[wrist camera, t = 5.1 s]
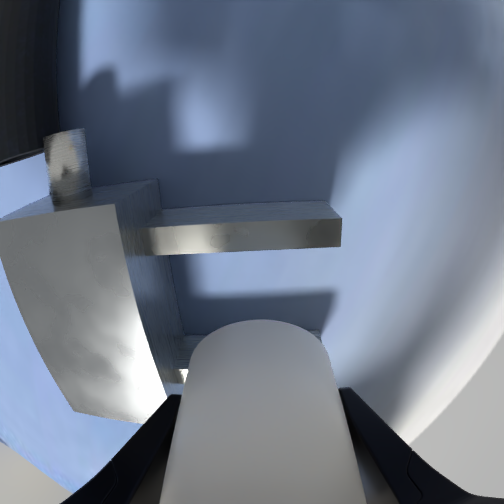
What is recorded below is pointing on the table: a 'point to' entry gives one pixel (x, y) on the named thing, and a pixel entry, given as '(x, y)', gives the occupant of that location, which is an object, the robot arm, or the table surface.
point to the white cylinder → (261, 423)
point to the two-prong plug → (126, 276)
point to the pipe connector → (27, 77)
